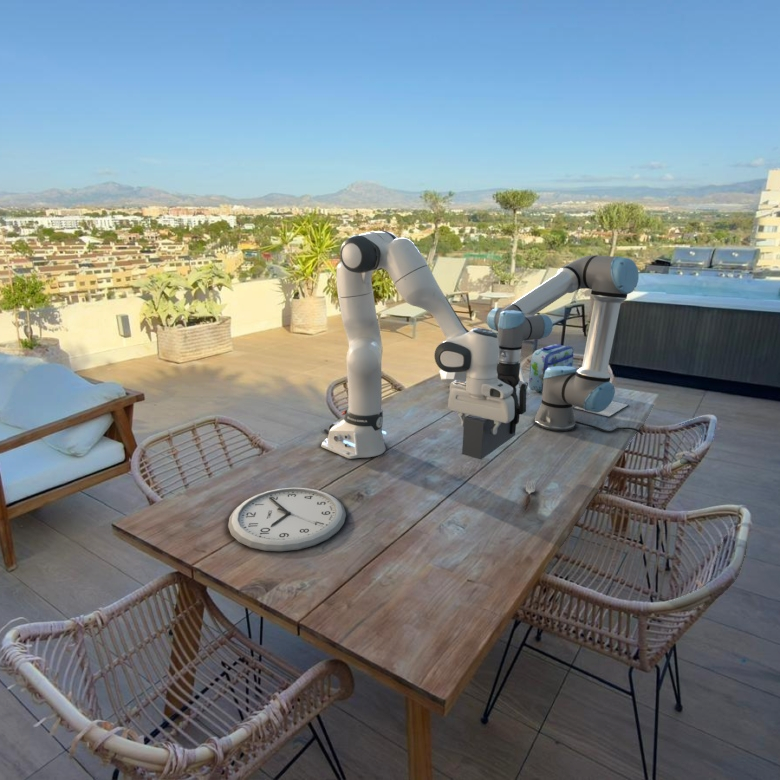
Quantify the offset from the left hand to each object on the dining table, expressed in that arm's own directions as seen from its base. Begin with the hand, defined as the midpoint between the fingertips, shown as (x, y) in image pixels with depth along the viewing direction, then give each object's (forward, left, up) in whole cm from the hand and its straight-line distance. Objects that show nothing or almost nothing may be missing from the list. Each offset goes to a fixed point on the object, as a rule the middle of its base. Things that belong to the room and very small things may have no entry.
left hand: (478, 430), depth 155 cm
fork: (+17, -3, -16) cm, 24 cm away
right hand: (+2, +17, -5) cm, 18 cm away
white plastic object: (-32, +83, -16) cm, 90 cm away
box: (+1, +9, -8) cm, 11 cm away
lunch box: (-5, +107, -16) cm, 108 cm away
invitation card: (+21, +93, -16) cm, 97 cm away
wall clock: (-33, -48, -16) cm, 60 cm away
